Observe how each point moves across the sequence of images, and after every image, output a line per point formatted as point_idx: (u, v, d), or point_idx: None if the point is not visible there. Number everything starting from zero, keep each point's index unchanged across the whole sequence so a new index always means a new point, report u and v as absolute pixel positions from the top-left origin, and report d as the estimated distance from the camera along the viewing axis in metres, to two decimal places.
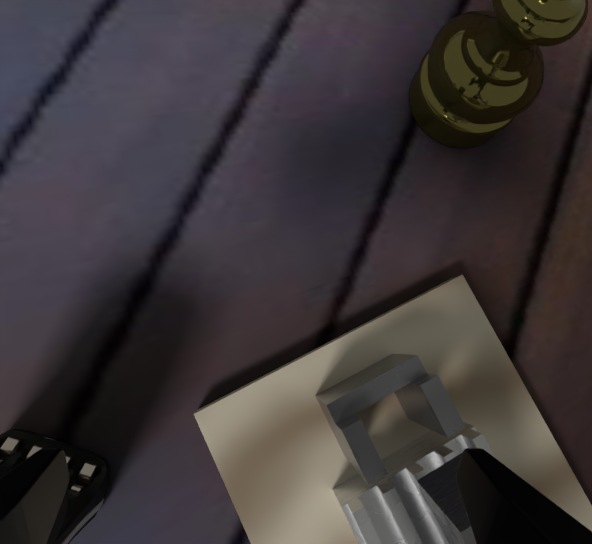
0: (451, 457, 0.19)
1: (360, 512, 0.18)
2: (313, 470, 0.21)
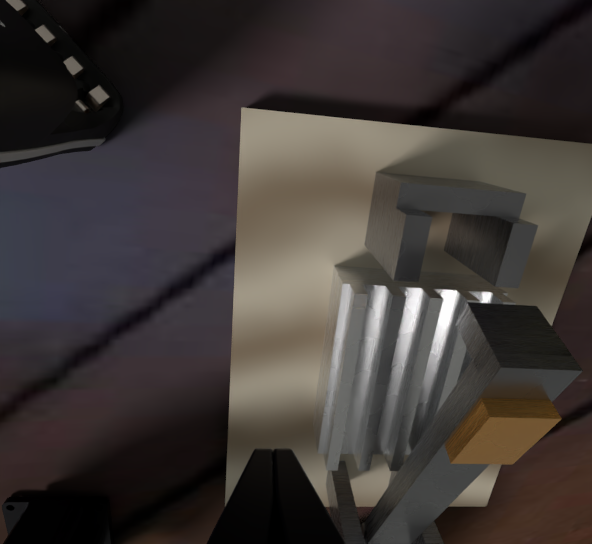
0: None
1: (362, 297, 0.17)
2: (327, 240, 0.19)
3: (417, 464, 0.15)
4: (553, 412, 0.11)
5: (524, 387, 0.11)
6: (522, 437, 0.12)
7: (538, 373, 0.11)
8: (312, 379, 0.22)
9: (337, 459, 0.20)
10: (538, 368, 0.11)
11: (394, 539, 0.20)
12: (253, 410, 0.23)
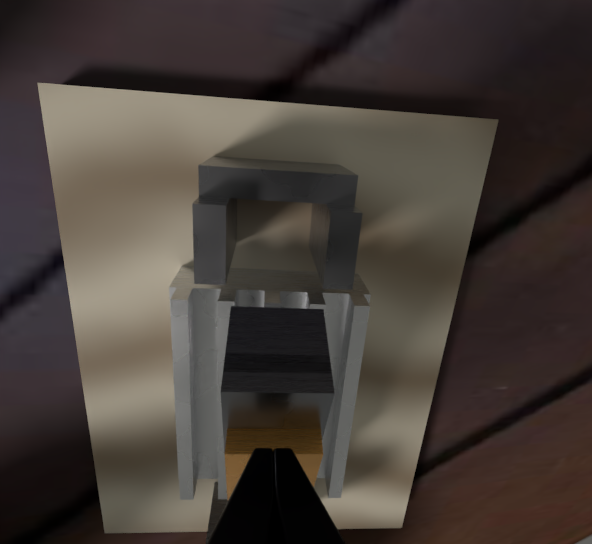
0: None
1: (180, 303, 0.14)
2: (169, 236, 0.17)
3: None
4: (317, 444, 0.09)
5: (273, 414, 0.09)
6: None
7: (278, 397, 0.08)
8: None
9: (190, 487, 0.17)
10: (273, 391, 0.08)
11: None
12: (117, 429, 0.20)
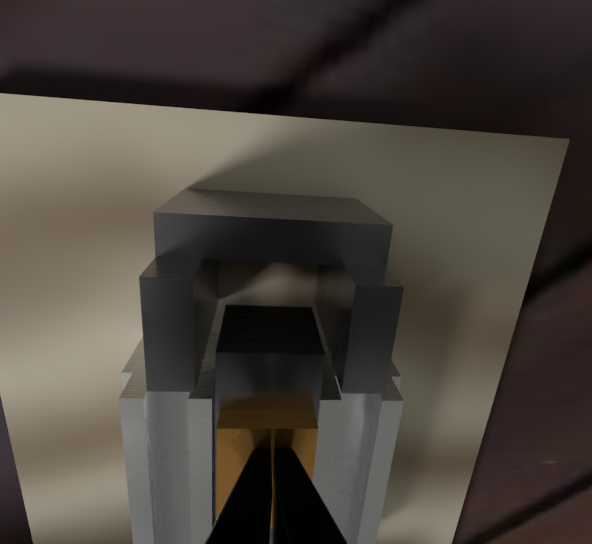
0: (331, 406, 0.10)
1: (134, 403, 0.10)
2: (128, 293, 0.13)
3: None
4: (312, 421, 0.09)
5: (266, 387, 0.09)
6: None
7: (270, 361, 0.09)
8: None
9: None
10: (266, 352, 0.09)
11: None
12: (67, 531, 0.16)
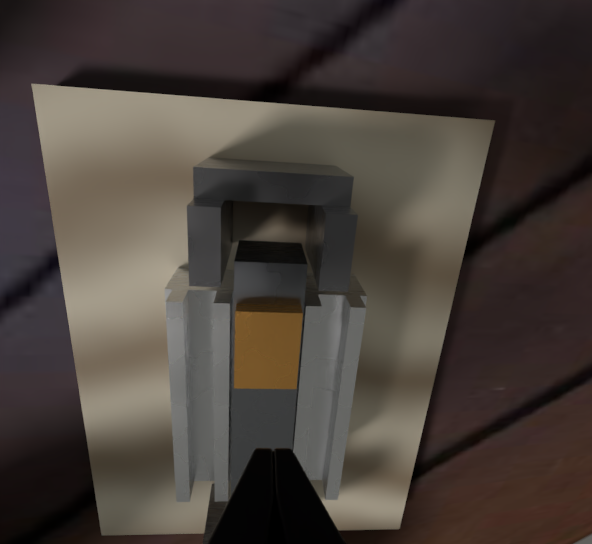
0: (314, 310, 0.15)
1: (176, 305, 0.14)
2: (165, 238, 0.17)
3: None
4: (299, 310, 0.13)
5: (268, 287, 0.13)
6: (282, 342, 0.13)
7: (271, 268, 0.13)
8: None
9: (187, 489, 0.17)
10: (267, 262, 0.13)
11: None
12: (113, 431, 0.20)
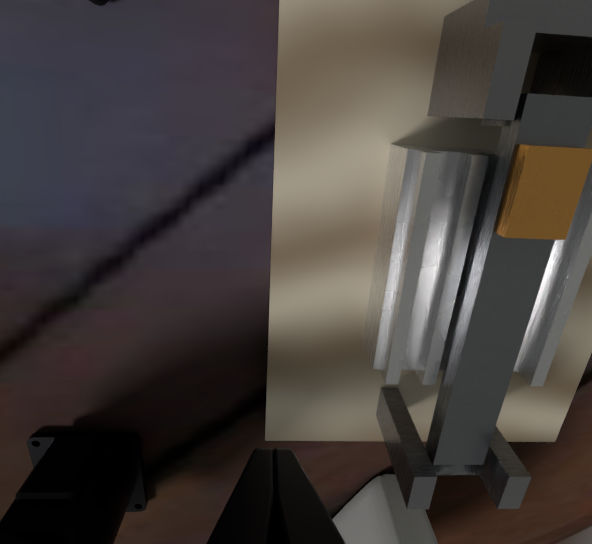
0: None
1: (435, 157, 0.14)
2: (384, 110, 0.16)
3: (472, 288, 0.15)
4: (587, 148, 0.12)
5: (553, 125, 0.13)
6: (565, 183, 0.13)
7: (562, 103, 0.12)
8: (363, 289, 0.19)
9: (398, 370, 0.17)
10: (560, 95, 0.12)
11: (463, 451, 0.18)
12: (295, 327, 0.20)
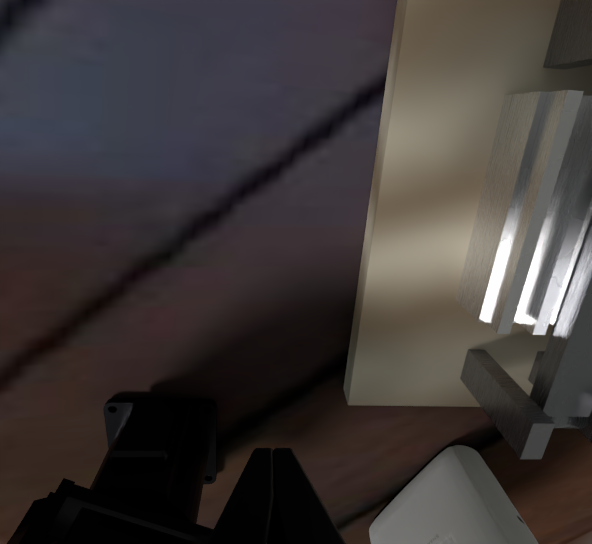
0: None
1: (576, 95, 0.14)
2: (502, 60, 0.17)
3: None
4: None
5: None
6: None
7: None
8: (462, 245, 0.20)
9: (511, 319, 0.17)
10: None
11: (572, 402, 0.18)
12: (392, 284, 0.20)
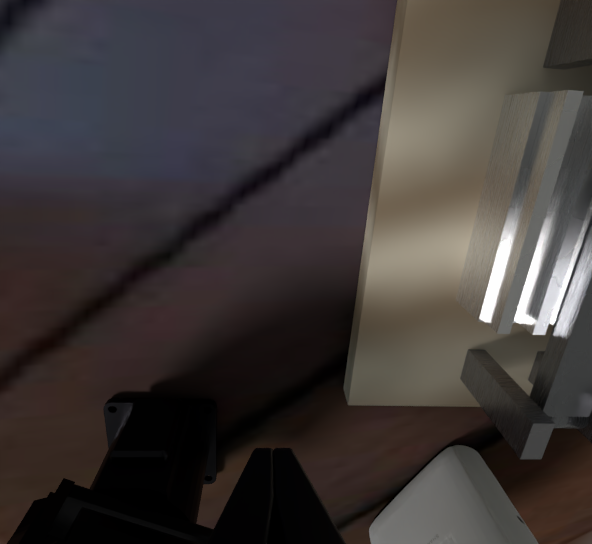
0: None
1: (576, 95, 0.14)
2: (502, 60, 0.17)
3: None
4: None
5: None
6: None
7: None
8: (462, 245, 0.20)
9: (511, 319, 0.17)
10: None
11: (572, 402, 0.18)
12: (392, 284, 0.20)
